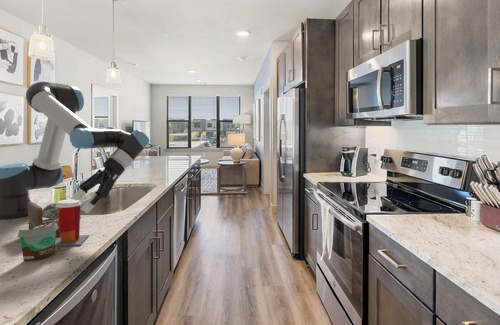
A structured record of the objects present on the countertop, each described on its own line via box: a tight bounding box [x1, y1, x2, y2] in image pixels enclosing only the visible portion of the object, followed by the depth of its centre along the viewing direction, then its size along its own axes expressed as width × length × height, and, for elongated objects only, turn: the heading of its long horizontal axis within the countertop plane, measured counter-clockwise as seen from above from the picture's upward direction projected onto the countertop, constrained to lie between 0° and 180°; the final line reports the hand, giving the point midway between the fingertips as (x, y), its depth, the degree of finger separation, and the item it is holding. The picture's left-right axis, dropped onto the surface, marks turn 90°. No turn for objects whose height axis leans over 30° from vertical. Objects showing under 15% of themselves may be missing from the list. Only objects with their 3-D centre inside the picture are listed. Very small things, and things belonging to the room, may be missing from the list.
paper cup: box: [56, 198, 82, 243], centre depth 113 cm, size 8×8×14 cm
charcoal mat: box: [55, 234, 90, 248], centre depth 114 cm, size 10×10×1 cm
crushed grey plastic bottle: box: [42, 202, 82, 220], centre depth 137 cm, size 13×7×25 cm
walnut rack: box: [27, 201, 60, 239], centre depth 121 cm, size 10×13×12 cm
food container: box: [17, 219, 58, 262], centre depth 100 cm, size 12×6×10 cm, turn 170°
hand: (76, 208), depth 114 cm, fingers open, 13 cm apart
